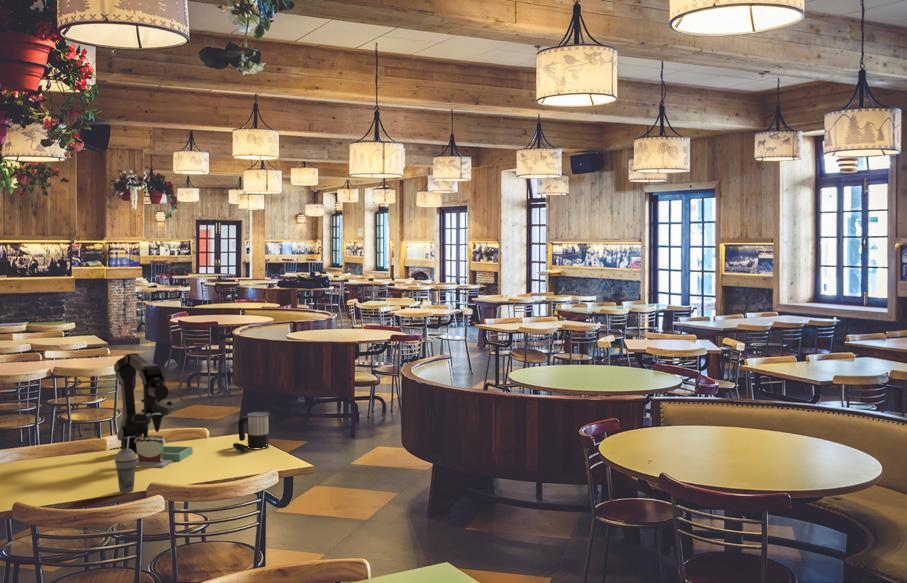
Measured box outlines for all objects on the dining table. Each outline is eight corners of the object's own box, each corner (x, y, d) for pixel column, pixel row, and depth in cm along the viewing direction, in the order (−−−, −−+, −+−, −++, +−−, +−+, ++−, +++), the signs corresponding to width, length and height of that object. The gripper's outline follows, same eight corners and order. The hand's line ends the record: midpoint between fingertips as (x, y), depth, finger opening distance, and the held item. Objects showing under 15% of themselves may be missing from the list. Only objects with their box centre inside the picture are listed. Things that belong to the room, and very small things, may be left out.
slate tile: (129, 466, 323) (129, 464, 323) (139, 461, 331) (139, 459, 331) (163, 467, 321) (163, 465, 321) (172, 462, 329) (172, 460, 329)
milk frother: (271, 444, 359) (270, 411, 358) (264, 453, 343) (264, 419, 342) (238, 445, 358) (238, 412, 357) (230, 454, 342) (230, 419, 342)
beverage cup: (119, 488, 293) (118, 434, 292) (140, 488, 294) (138, 433, 293) (112, 494, 286) (111, 438, 285) (133, 494, 286) (132, 438, 285)
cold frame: (138, 459, 334) (138, 452, 333) (152, 452, 345) (152, 445, 345) (179, 461, 331) (179, 453, 331) (192, 453, 343) (192, 446, 343)
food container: (171, 459, 330) (170, 435, 330) (164, 463, 324) (163, 438, 324) (142, 458, 332) (141, 434, 331) (134, 462, 326) (134, 437, 325)
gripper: (158, 401, 317) (159, 440, 318) (180, 392, 335) (181, 429, 336) (131, 400, 318) (132, 439, 319) (155, 391, 337) (155, 428, 338)
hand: (151, 434), depth 328 cm, fingers open, 9 cm apart
